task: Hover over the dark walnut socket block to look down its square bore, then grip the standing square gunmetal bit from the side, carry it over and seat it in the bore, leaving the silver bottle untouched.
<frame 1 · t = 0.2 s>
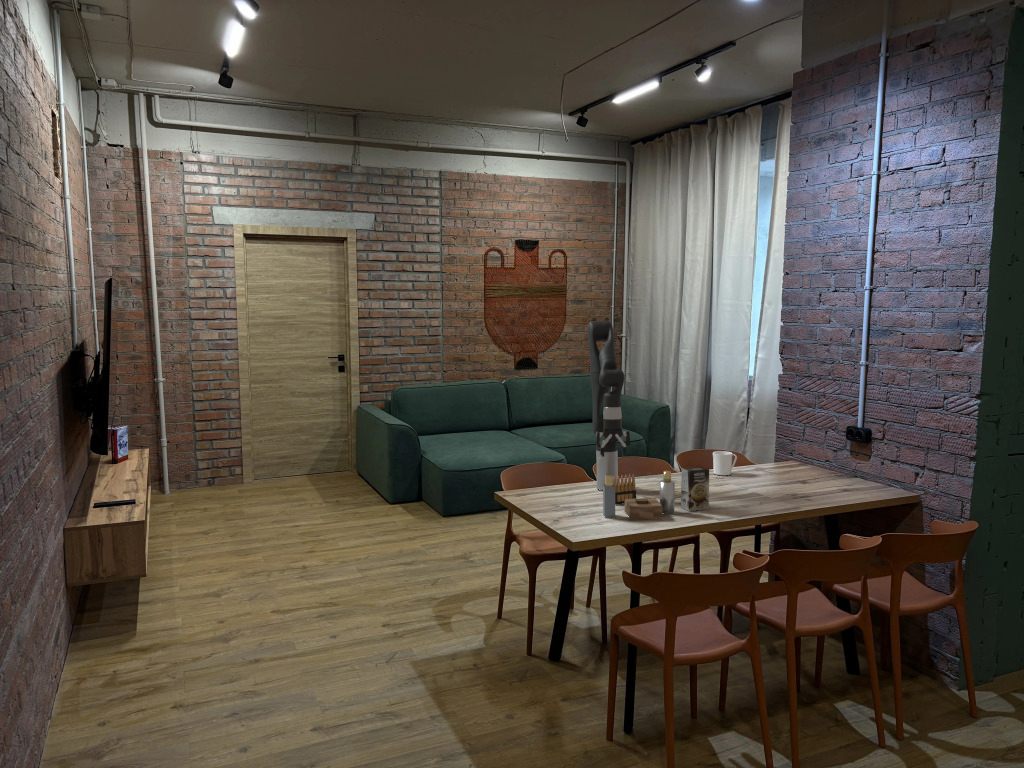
hand: (613, 456, 301), 17 cm above the table, tool pointing down, fingers open, 8 cm apart
socket block: (643, 515, 275), on the table
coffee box: (695, 509, 283), on the table
ammunition clip: (624, 503, 293), on the table
silver bottle: (667, 512, 279), on the table
mug: (724, 474, 339), on the table
square bit: (609, 516, 275), on the table
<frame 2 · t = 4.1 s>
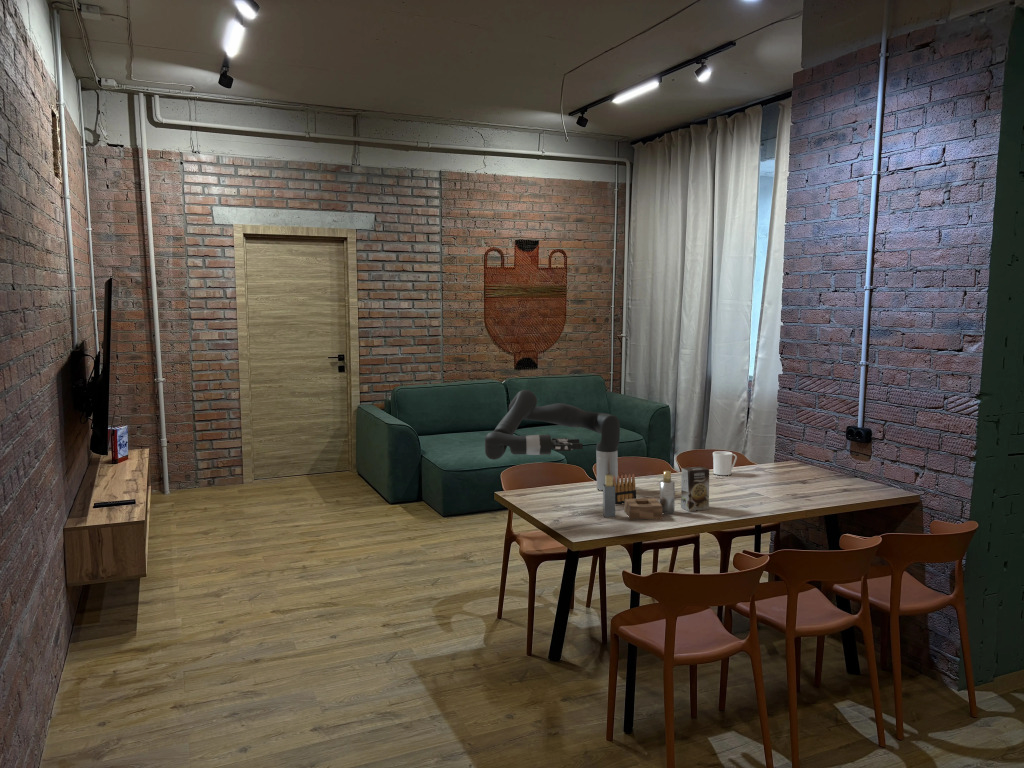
hand: (580, 444, 272), 28 cm above the table, tool horizontal, fingers open, 8 cm apart
nothing on the table moved.
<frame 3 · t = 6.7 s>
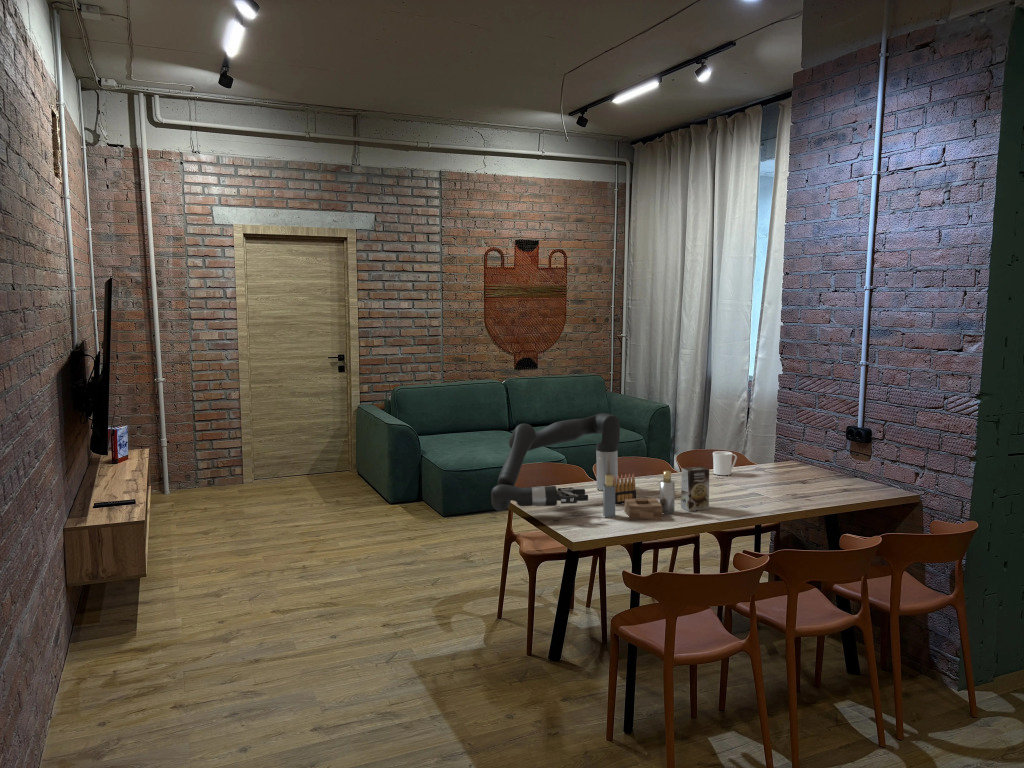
hand: (586, 494, 273), 9 cm above the table, tool horizontal, fingers open, 8 cm apart
nothing on the table moved.
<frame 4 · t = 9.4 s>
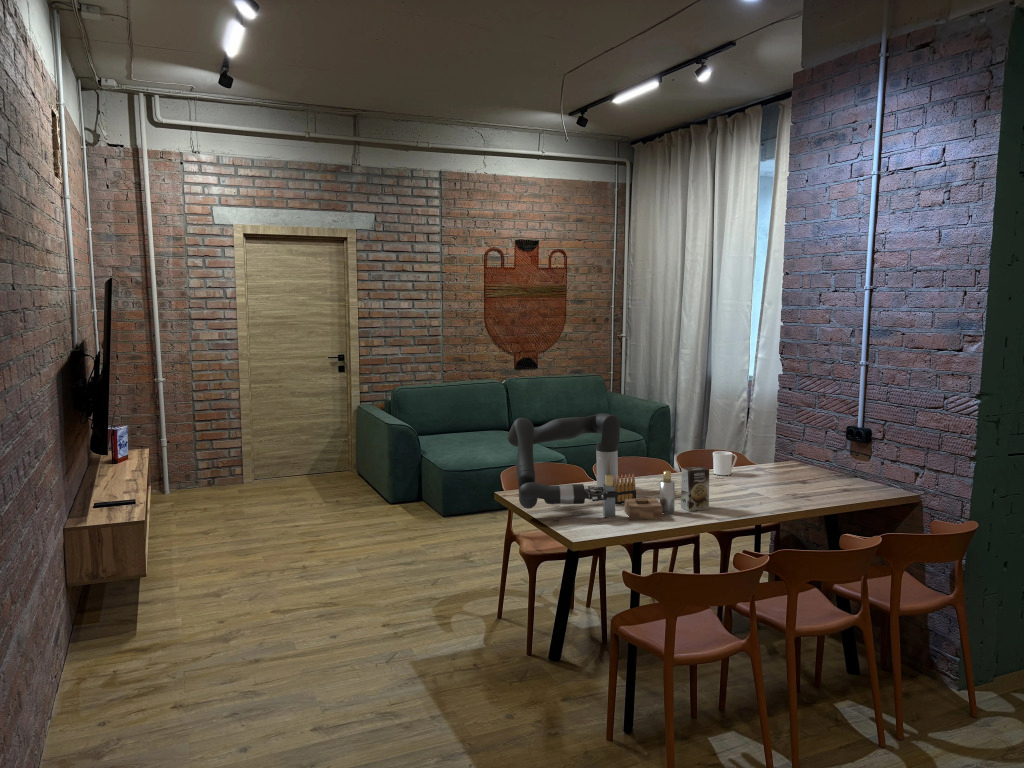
hand: (616, 492, 274), 9 cm above the table, tool horizontal, fingers closed on square bit, 4 cm apart
square bit: (609, 516, 275), on the table, touching gripper
everything else where it was.
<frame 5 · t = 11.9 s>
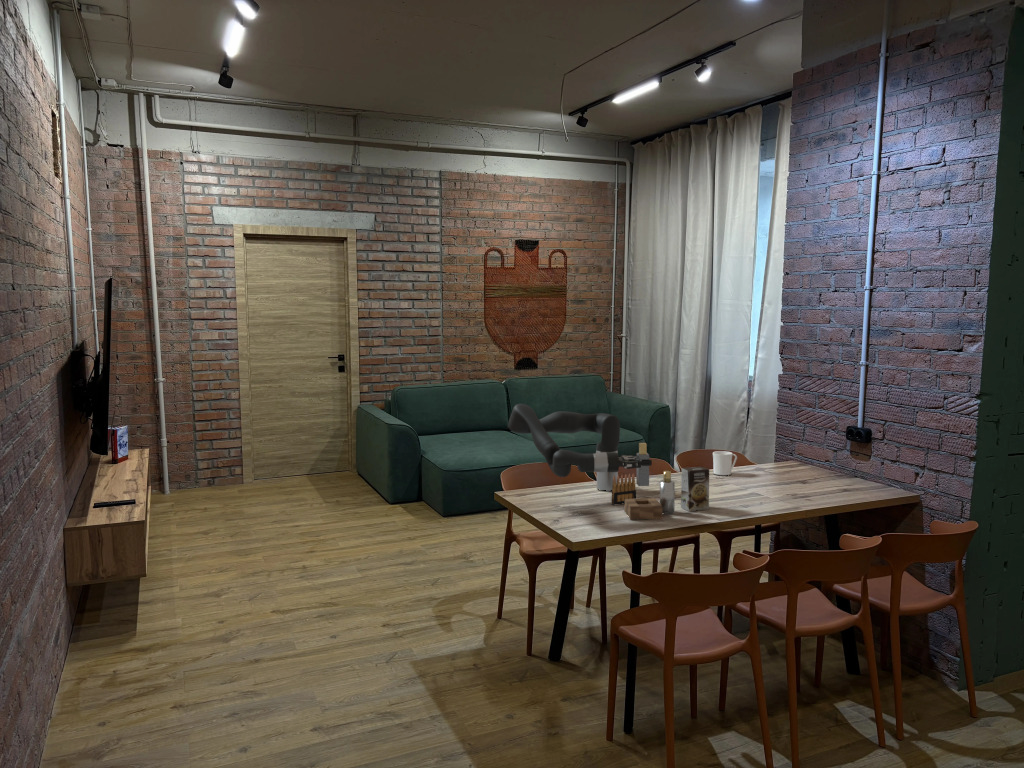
hand: (650, 461, 273), 21 cm above the table, tool horizontal, fingers closed on square bit, 4 cm apart
square bit: (642, 484, 274), point 12 cm above the table, touching gripper
everything else where it was.
when the fingers open (11 cm above the table, at t = 14.5 s): square bit drops 1 cm, resting on socket block.
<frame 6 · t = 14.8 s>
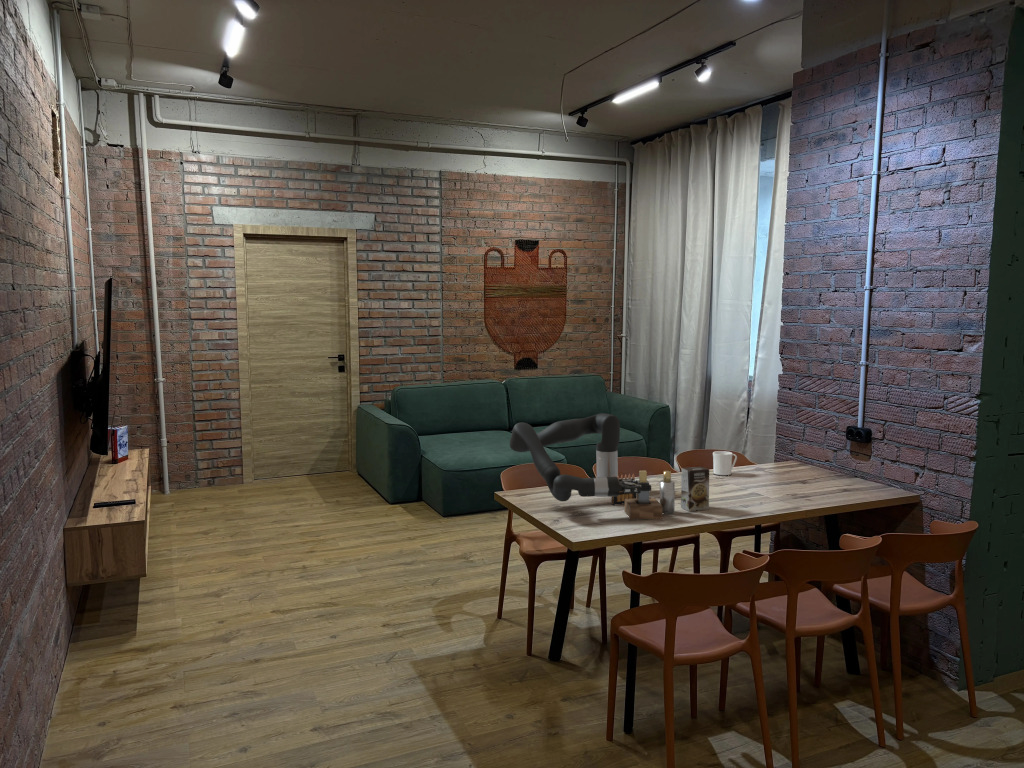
hand: (648, 485, 274), 12 cm above the table, tool horizontal, fingers open, 6 cm apart
square bit: (643, 512, 275), point 1 cm above the table, touching socket block
everything else where it was.
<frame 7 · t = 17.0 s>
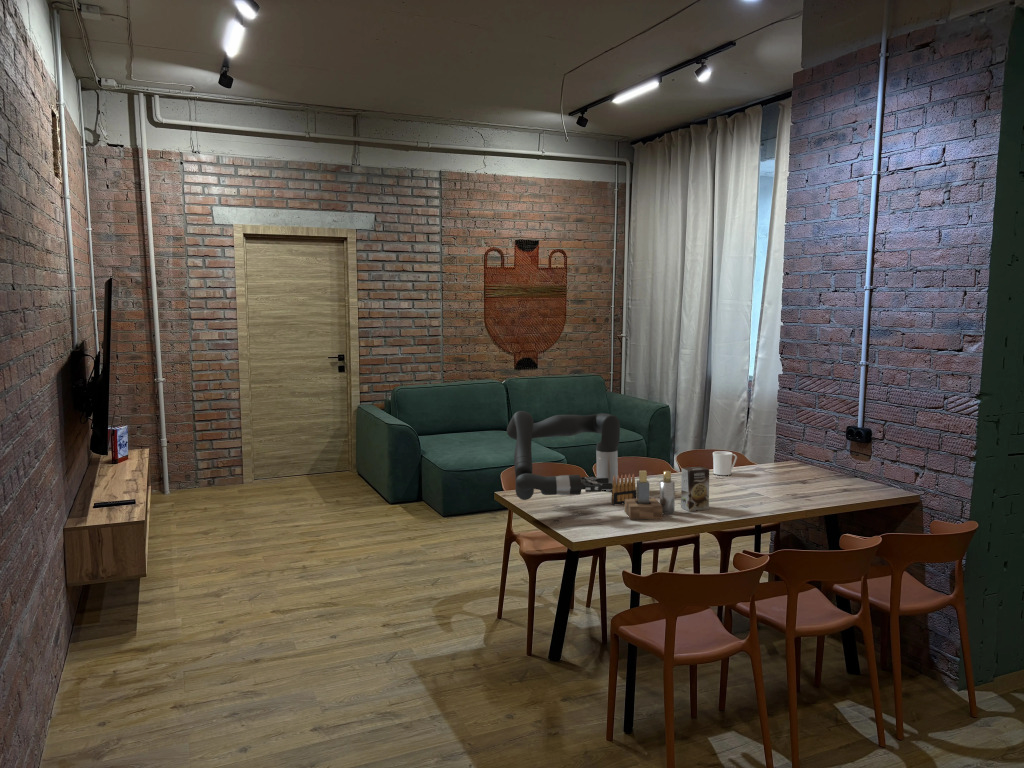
hand: (610, 483, 274), 13 cm above the table, tool horizontal, fingers open, 8 cm apart
nothing on the table moved.
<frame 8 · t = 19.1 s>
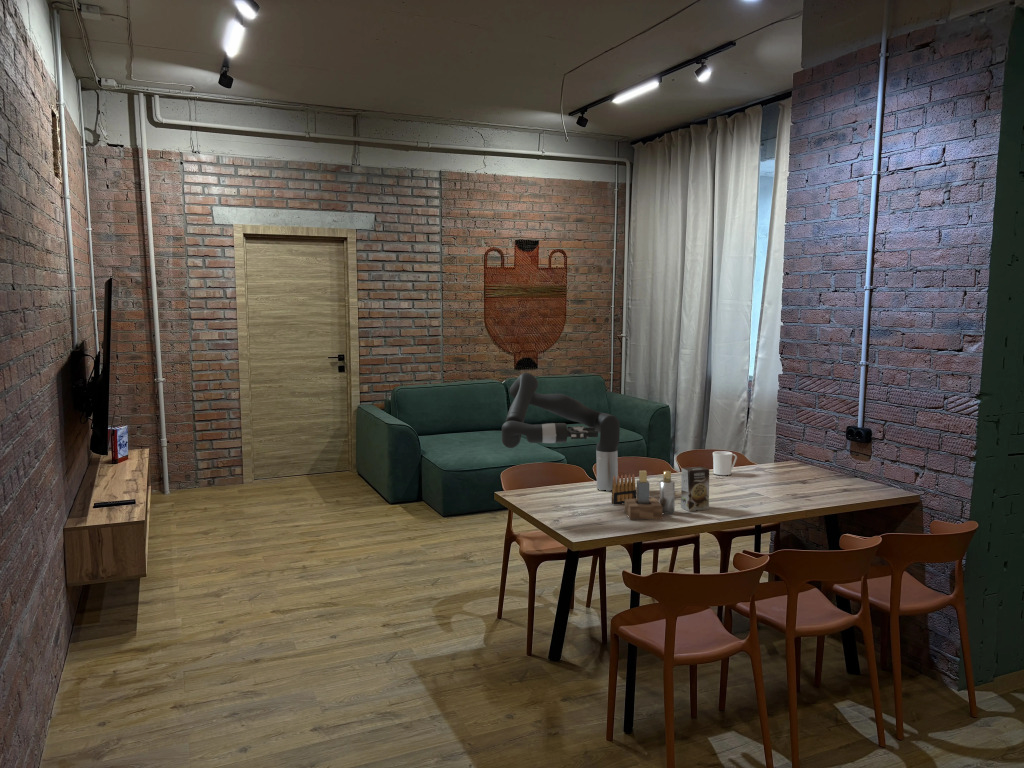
hand: (596, 432, 276), 32 cm above the table, tool horizontal, fingers open, 8 cm apart
nothing on the table moved.
at the end: square bit 0.1 cm off-centre on the socket block, point 1.1 cm above the socket block's base; square bit tilted 0°; the gripper is holding nothing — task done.
